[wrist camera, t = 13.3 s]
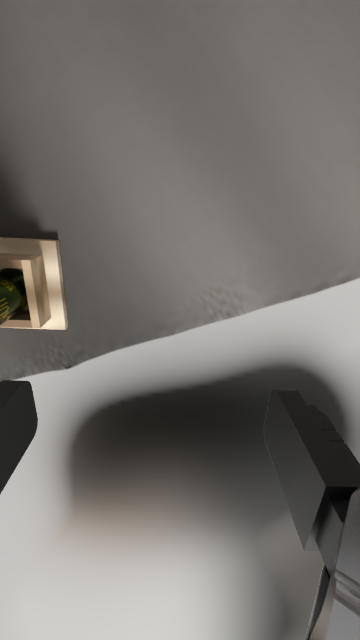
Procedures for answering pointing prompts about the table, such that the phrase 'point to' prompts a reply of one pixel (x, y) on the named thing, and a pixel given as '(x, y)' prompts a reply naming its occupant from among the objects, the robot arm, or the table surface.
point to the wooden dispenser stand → (37, 282)
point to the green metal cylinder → (11, 293)
